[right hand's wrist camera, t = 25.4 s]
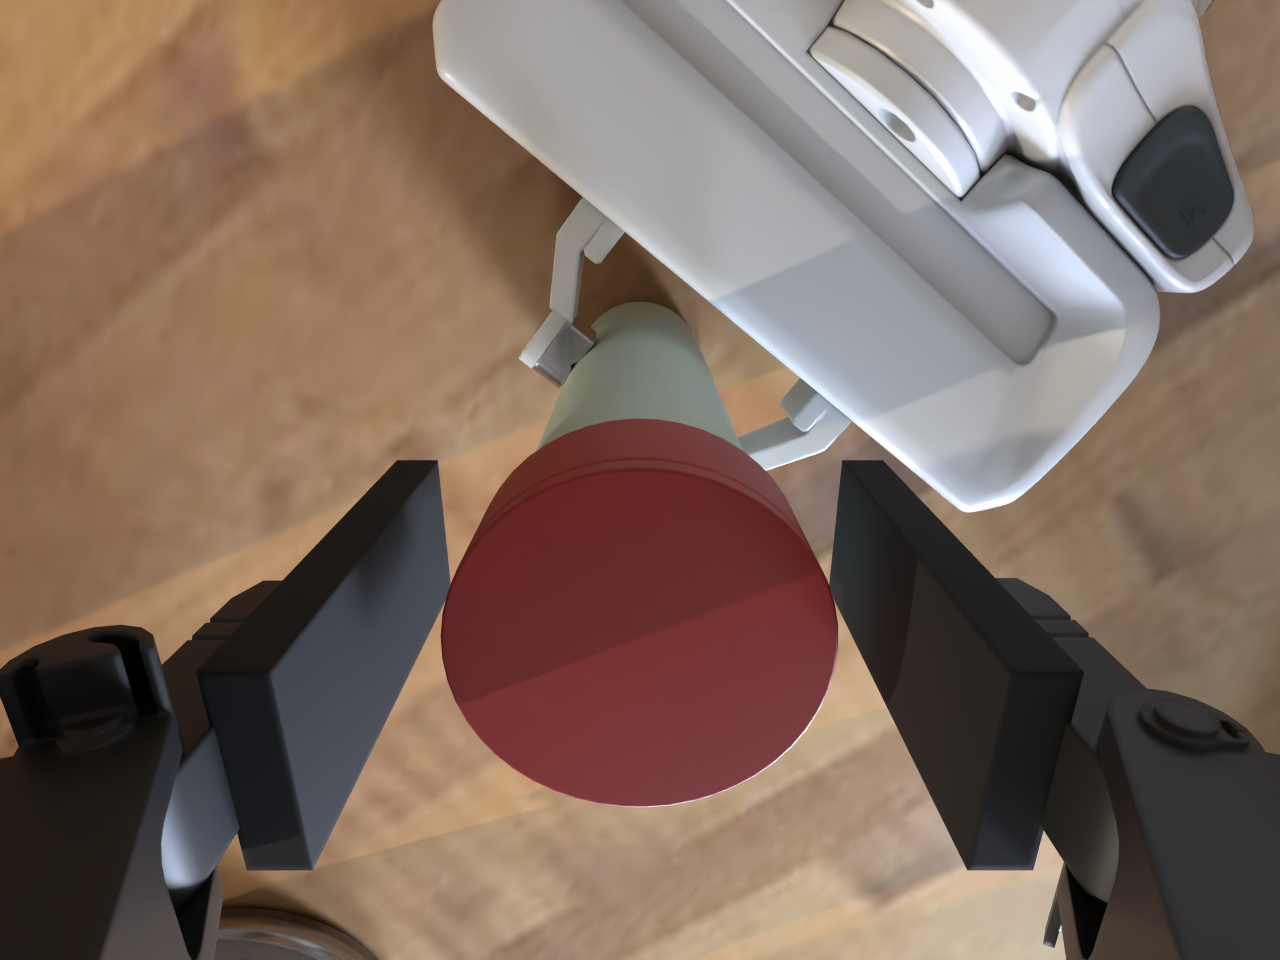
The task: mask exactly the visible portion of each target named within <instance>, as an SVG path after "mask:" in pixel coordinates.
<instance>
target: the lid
mask: <svg viewBox="0 0 1280 960" xmlns="http://www.w3.org/2000/svg"><path fill="white" fill-rule="evenodd" d="M441 646H442V659H443V663H444V667H445V672H446V676H447V680H448V683H449V686H450V688H451V691H452V693H453V696H454V698H455V701H456V703H457V705H458V706H459V708H460V710H461V712H462V714H463V715H464V717H465V719H466V721H467V722H468V723H469V725H470V726H471V727H472V729H473V730H474V731H475V733H476V734H477V735H478V737H479V738H480V739H481V740H482V741H483V742H484V743H485V744H486V745H487V746H488V747H489V748H490V749H491V750H492V751H493V752H494V753H495V754H496V755H497V756H498V757H499V758H501V759H502V760H503V761H505V762H506V763H507V764H508V765H510V766H511V767H512V768H513V769H515V770H517V771H518V772H520V773H521V774H523V775H525V776H526V777H528V778H529V779H531V780H533V781H535V782H537V783H539V784H541V785H543V786H545V787H547V788H549V789H552V790H554V791H556V792H559V793H562V794H565V795H568V796H571V797H574V798H577V799H581V800H585V801H590V802H594V803H598V804H606V805H613V806H621V807H654V806H668V805H674V804H680V803H685V802H691V801H695V800H698V799H702V798H705V797H708V796H712V795H715V794H718V793H720V792H722V791H725V790H727V789H730V788H732V787H735V786H737V785H739V784H740V783H742V782H744V781H746V780H748V779H750V778H752V777H753V776H755V775H757V774H758V773H760V772H761V771H763V770H764V769H765V768H767V767H768V766H770V765H771V764H773V763H774V762H775V761H776V760H777V759H779V758H780V757H781V756H782V755H783V754H784V753H785V752H786V751H787V750H789V749H790V748H791V747H792V746H793V745H794V743H795V742H796V741H797V740H798V739H799V738H800V737H801V735H802V734H803V733H804V732H805V731H806V729H807V728H808V726H809V725H810V723H811V722H812V720H813V719H814V717H815V716H816V714H817V713H818V711H819V709H820V707H821V705H822V703H823V701H824V699H825V696H826V694H827V692H828V689H829V686H830V683H831V680H832V676H833V673H834V670H835V664H836V657H837V651H838V622H837V616H836V609H835V603H834V600H833V597H832V594H831V590H830V587H829V584H828V581H827V579H826V577H825V575H824V573H823V571H822V569H821V567H820V565H819V563H818V561H817V559H816V557H815V555H814V553H813V551H812V549H811V547H810V545H809V543H808V541H807V539H806V537H805V535H804V533H803V531H802V529H801V527H800V525H799V523H798V521H797V519H796V517H795V515H794V513H793V511H792V509H791V507H790V505H789V503H788V501H787V499H786V497H785V495H784V494H783V492H782V491H781V490H780V488H779V487H778V485H777V484H776V482H775V481H774V480H773V478H772V477H771V476H770V475H769V474H768V473H767V472H766V471H765V470H764V469H763V468H762V467H761V466H760V464H758V463H757V462H756V461H755V460H754V459H752V458H751V457H750V456H749V455H747V454H746V453H745V452H744V451H742V450H741V449H739V448H738V447H736V446H734V445H733V444H731V443H730V442H728V441H726V440H725V439H723V438H721V437H718V436H716V435H714V434H712V433H709V432H707V431H705V430H703V429H699V428H696V427H692V426H689V425H686V424H682V423H678V422H672V421H665V420H659V419H635V418H633V419H623V420H612V421H607V422H602V423H598V424H594V425H589V426H586V427H583V428H581V429H578V430H575V431H572V432H570V433H567V434H565V435H563V436H561V437H559V438H557V439H555V440H553V441H551V442H549V443H548V444H546V445H544V446H543V447H542V448H540V449H539V450H537V451H536V452H535V453H533V454H532V455H530V456H529V457H528V458H527V459H526V460H525V461H523V462H522V463H521V464H520V465H519V466H518V467H517V468H516V469H515V470H514V471H513V472H512V473H511V474H510V476H509V477H508V478H507V479H506V480H505V482H504V483H503V484H502V485H501V487H500V488H499V490H498V491H497V493H496V495H495V496H494V498H493V500H492V501H491V503H490V505H489V507H488V509H487V511H486V513H485V515H484V517H483V519H482V521H481V523H480V525H479V527H478V529H477V531H476V533H475V535H474V536H473V538H472V540H471V542H470V544H469V546H468V548H467V550H466V552H465V554H464V556H463V559H462V560H461V562H460V564H459V566H458V568H457V570H456V573H455V575H454V578H453V580H452V583H451V585H450V588H449V590H448V593H447V597H446V602H445V606H444V610H443V615H442V627H441Z"/></svg>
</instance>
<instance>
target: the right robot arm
mask: <svg viewBox="0 0 1280 960" xmlns="http://www.w3.org/2000/svg"><path fill="white" fill-rule="evenodd" d="M450 585H451V583H450V573H449V564H448V554H447V545H446V535H445V526H444V516H443V507H442V497H441V488H440V478H439V468H438V460H397V461H396V462H395V463H394V464H393V465H392V466H391V467H390V468H389V469H388V470H387V472H386V473H385V474H384V475H383V476H382V477H381V478H380V479H379V480H378V481H377V482H376V483H375V484H374V485H373V486H372V487H371V488H370V489H369V490H368V491H367V493H366V494H365V495H364V496H363V497H362V498H361V499H360V500H359V501H358V502H357V503H356V504H355V505H354V506H353V507H352V508H351V509H350V510H349V511H348V512H347V513H346V515H345V516H344V517H343V518H342V519H341V520H340V521H339V522H338V523H337V524H336V525H335V526H334V527H333V528H332V529H331V530H330V531H329V532H328V533H327V534H326V536H325V537H324V538H323V539H322V540H321V541H320V542H319V543H318V544H317V545H316V546H315V547H314V548H313V549H312V550H311V551H310V552H309V553H308V554H307V555H306V556H305V558H304V559H303V560H302V561H301V562H300V563H299V564H298V565H297V566H296V567H295V568H294V569H293V570H292V571H291V572H290V573H289V574H288V575H287V576H286V577H285V579H284V580H283V581H262V582H260V583H258V584H257V585H255V586H253V587H251V588H249V589H247V590H246V591H244V592H242V593H240V594H238V595H236V596H235V597H233V598H231V599H230V600H229V601H228V602H227V603H226V604H225V605H224V606H223V607H222V608H221V609H220V610H219V611H218V612H217V613H216V614H215V615H214V616H212V617H211V618H210V623H205V624H204V625H203V626H202V627H201V628H200V629H199V630H198V631H197V632H196V633H195V634H194V635H193V636H192V640H187V641H186V642H185V643H184V644H183V645H182V646H181V647H180V648H179V649H178V650H177V651H176V652H175V653H174V654H173V655H172V656H171V657H170V658H169V659H168V660H167V661H166V662H165V663H164V664H163V665H161V662H160V658H159V655H158V651H157V647H156V644H155V640H154V637H153V635H152V634H151V633H149V632H148V631H146V630H145V629H143V628H142V627H134V626H126V625H114V626H103V627H94V628H90V629H85V630H81V631H77V632H73V633H69V634H65V635H62V636H60V637H57V638H55V639H52V640H49V641H47V642H44V643H42V644H39V645H37V646H34V647H32V648H31V649H29V650H27V651H25V652H24V653H22V654H20V655H19V656H17V657H15V658H13V659H12V660H10V661H9V662H7V663H6V664H5V665H4V666H3V667H2V668H1V669H0V697H1V700H2V703H3V705H4V708H5V711H6V713H7V716H8V719H9V721H10V724H11V727H12V729H13V732H14V734H15V737H16V740H17V742H18V745H19V747H18V749H17V751H16V752H15V754H14V756H11V757H6V758H1V759H0V960H379V959H378V958H377V957H376V956H375V955H374V954H372V953H371V952H370V951H369V950H368V949H366V948H365V947H364V946H362V945H361V944H360V943H358V942H357V941H355V940H354V939H352V938H351V937H349V936H347V935H345V934H344V933H342V932H340V931H338V930H336V929H334V928H332V927H329V926H327V925H325V924H322V923H320V922H317V921H315V920H312V919H309V918H305V917H302V916H298V915H294V914H290V913H285V912H280V911H274V910H266V909H253V908H237V909H223V910H221V908H222V901H223V891H222V883H221V878H220V875H219V871H218V867H217V863H218V862H219V860H220V858H221V857H222V855H223V854H224V852H225V851H226V849H227V848H228V846H229V844H230V843H231V841H232V840H233V838H234V837H235V835H236V834H238V837H239V841H240V845H241V849H242V853H243V857H244V861H245V865H246V868H247V870H313V868H314V866H315V864H316V862H317V860H318V858H319V856H320V854H321V852H322V850H323V848H324V846H325V844H326V842H327V840H328V838H329V836H330V834H331V832H332V830H333V828H334V826H335V824H336V822H337V820H338V818H339V816H340V813H341V811H342V809H343V807H344V805H345V803H346V801H347V799H348V797H349V795H350V793H351V791H352V789H353V787H354V785H355V783H356V781H357V779H358V777H359V775H360V773H361V771H362V769H363V767H364V765H365V763H366V761H367V759H368V757H369V755H370V753H371V751H372V749H373V747H374V744H375V742H376V740H377V738H378V736H379V734H380V732H381V730H382V728H383V726H384V724H385V722H386V720H387V718H388V716H389V714H390V712H391V710H392V708H393V706H394V704H395V702H396V700H397V698H398V696H399V694H400V692H401V690H402V688H403V686H404V684H405V682H406V680H407V678H408V675H409V673H410V671H411V669H412V667H413V665H414V663H415V661H416V659H417V657H418V655H419V653H420V651H421V649H422V647H423V645H424V643H425V641H426V639H427V637H428V635H429V633H430V631H431V629H432V627H433V625H434V623H435V621H436V619H437V617H438V615H439V613H440V611H441V609H442V606H443V604H444V602H445V600H446V597H447V593H448V590H449V588H450ZM829 587H830V590H831V594H832V596H833V598H834V600H835V602H836V604H837V606H838V609H839V611H840V613H841V615H842V617H843V619H844V621H845V623H846V625H847V627H848V629H849V631H850V633H851V635H852V637H853V639H854V641H855V643H856V645H857V647H858V649H859V651H860V653H861V655H862V657H863V659H864V661H865V663H866V665H867V667H868V669H869V671H870V673H871V675H872V678H873V680H874V682H875V684H876V686H877V688H878V690H879V692H880V694H881V696H882V698H883V700H884V702H885V704H886V706H887V708H888V710H889V712H890V714H891V716H892V718H893V720H894V722H895V724H896V726H897V728H898V730H899V732H900V734H901V736H902V738H903V740H904V742H905V744H906V747H907V749H908V751H909V753H910V755H911V757H912V759H913V761H914V763H915V765H916V767H917V769H918V771H919V773H920V775H921V777H922V779H923V781H924V783H925V785H926V787H927V789H928V791H929V793H930V795H931V797H932V799H933V801H934V803H935V805H936V807H937V809H938V811H939V813H940V815H941V818H942V820H943V822H944V824H945V826H946V828H947V830H948V832H949V834H950V836H951V838H952V840H953V842H954V844H955V846H956V848H957V850H958V852H959V854H960V856H961V858H962V860H963V862H964V864H965V866H966V868H967V870H1033V868H1034V865H1035V861H1036V857H1037V853H1038V849H1039V845H1040V841H1041V838H1042V834H1043V830H1044V831H1045V833H1046V834H1047V836H1048V837H1049V839H1050V840H1051V842H1052V844H1053V845H1054V847H1055V848H1056V850H1057V851H1058V853H1059V854H1060V856H1061V857H1062V859H1063V861H1064V864H1063V867H1062V871H1061V875H1060V878H1059V882H1058V885H1057V889H1056V893H1055V896H1054V900H1053V903H1052V907H1051V911H1050V914H1049V918H1048V921H1047V925H1046V929H1045V936H1044V943H1043V944H1044V945H1047V946H1050V947H1053V948H1054V947H1055V944H1056V941H1057V937H1058V934H1059V931H1060V930H1061V929H1062V933H1063V940H1064V947H1065V954H1066V960H1280V755H1276V754H1271V753H1266V752H1265V751H1264V749H1263V747H1262V746H1261V744H1260V743H1259V742H1258V741H1257V740H1256V739H1255V737H1254V736H1253V735H1252V734H1251V733H1250V732H1249V731H1248V729H1247V728H1245V727H1244V726H1243V725H1241V724H1240V723H1238V722H1237V721H1235V720H1234V719H1232V718H1231V717H1229V716H1228V715H1226V714H1225V713H1224V712H1222V711H1219V710H1217V709H1215V708H1213V707H1211V706H1209V705H1206V704H1204V703H1202V702H1200V701H1198V700H1195V699H1192V698H1189V697H1185V696H1182V695H1178V694H1175V693H1171V692H1168V691H1162V690H1152V689H1146V688H1145V687H1144V686H1143V685H1142V684H1141V683H1140V682H1139V681H1138V680H1137V679H1136V678H1135V677H1134V676H1133V675H1132V674H1131V673H1130V672H1129V671H1128V670H1127V669H1125V668H1124V667H1123V666H1122V665H1121V664H1120V663H1119V662H1118V661H1117V660H1116V659H1115V658H1114V657H1113V656H1112V655H1111V654H1110V653H1109V652H1108V651H1107V650H1106V649H1105V648H1103V647H1102V646H1101V645H1100V644H1099V643H1098V642H1097V641H1096V640H1095V639H1094V638H1089V636H1088V632H1087V631H1086V630H1085V629H1084V628H1082V627H1081V626H1080V625H1079V624H1078V623H1077V622H1076V621H1075V620H1071V618H1070V615H1069V614H1068V613H1067V612H1066V611H1065V610H1064V609H1063V608H1061V607H1060V606H1059V605H1058V604H1057V603H1056V602H1055V601H1054V600H1053V599H1052V598H1051V597H1050V596H1049V595H1047V594H1045V593H1043V592H1041V591H1040V590H1038V589H1036V588H1034V587H1032V586H1030V585H1028V584H1027V583H1025V582H1023V581H1021V580H1019V579H1017V578H995V577H994V576H993V575H992V574H991V573H990V572H989V571H988V570H987V569H986V568H985V567H984V566H983V565H982V564H981V563H980V562H979V561H978V560H977V559H976V558H975V556H974V555H973V554H972V553H971V552H970V551H969V550H968V549H967V548H966V547H965V546H964V545H963V544H962V543H961V542H960V541H959V540H958V539H957V538H956V537H955V536H954V534H953V533H952V532H951V531H950V530H949V529H948V528H947V527H946V526H945V525H944V524H943V523H942V522H941V521H940V520H939V519H938V518H937V517H936V516H935V515H934V513H933V512H932V511H931V510H930V509H929V508H928V507H927V506H926V505H925V504H924V503H923V502H922V501H921V500H920V499H919V498H918V497H917V496H916V495H915V494H914V493H913V491H912V490H911V489H910V488H909V487H908V486H907V485H906V484H905V483H904V482H903V481H902V480H901V479H900V478H899V477H898V476H897V475H896V474H895V473H894V472H893V470H892V469H891V468H890V467H889V466H888V465H887V464H886V463H885V462H884V461H883V460H842V469H841V478H840V488H839V497H838V507H837V516H836V526H835V535H834V545H833V554H832V564H831V573H830V583H829Z"/></svg>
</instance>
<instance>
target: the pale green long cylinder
mask: <svg viewBox="0 0 1280 960" xmlns="http://www.w3.org/2000/svg"><path fill="white" fill-rule="evenodd" d="M590 327H591V328H592V329H593V330H594V331H595V332H597V336H596V338H595V342H594V344H593V345H592V347H591V348H590V349H589V351H588V352H587V353H586V355H585V356H584V357H583V358H582V359H581V360H580V361H579V362H577V363H574V365H573V368H572V371H571V373H570V374H569V376H568V378H567V379H566V381H565V384H564V386H563V388H562V391H561V393H560V395H559V398H558V400H557V402H556V405H555V407H554V410H553V412H552V414H551V417H550V419H549V421H548V424H547V426H546V428H545V431H544V433H543V436H542V438H541V440H540V443H539V445H538V447H537V450H539V449H540V448H542V447H543V446H544V445H546V444H548V443H549V442H551V441H553V440H555V439H557V438H559V437H561V436H563V435H565V434H567V433H570V432H572V431H575V430H578V429H581V428H583V427H586V426H589V425H594V424H598V423H602V422H607V421H612V420H623V419H633V418H635V419H659V420H665V421H672V422H678V423H682V424H686V425H689V426H692V427H696V428H699V429H703V430H705V431H707V432H709V433H712V434H714V435H716V436H718V437H721V438H723V439H725V440H726V441H728V442H730V443H731V444H733V445H734V446H736V447H738V448H739V449H741V450H742V451H743V449H742V446H741V444H740V442H739V439H738V437H737V434H736V432H735V430H734V427H733V425H732V423H731V420H730V418H729V416H728V413H727V411H726V408H725V406H724V404H723V401H722V399H721V397H720V394H719V392H718V389H717V387H716V385H715V382H714V380H713V378H712V375H711V373H710V370H709V368H708V366H707V363H706V361H705V359H704V356H703V354H702V351H701V349H700V347H699V344H698V342H697V340H696V337H695V335H694V333H693V332H692V330H691V328H690V327H689V326H688V324H687V323H686V322H685V321H684V320H683V319H682V318H681V317H680V316H679V315H677V314H676V313H675V312H673V311H672V310H670V309H668V308H666V307H664V306H661V305H658V304H655V303H650V302H630V303H625V304H621V305H619V306H616V307H614V308H612V309H610V310H608V311H607V312H605V313H604V314H602V315H601V316H600V317H599V318H598V319H596V321H595V322H594V323H593V324H592V325H591V326H590ZM537 450H536V451H537Z"/></svg>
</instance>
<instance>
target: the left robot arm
mask: <svg viewBox="0 0 1280 960" xmlns="http://www.w3.org/2000/svg"><path fill="white" fill-rule="evenodd" d="M1213 1H1214V0H441V2H440V3H439V5H438V7H437V9H436V11H435V14H434V18H433V25H432V27H433V41H434V52H435V60H436V68H437V72H438V74H439V76H440V77H441V79H442V80H443V81H444V82H446V83H447V84H448V85H449V86H450V87H452V88H453V89H454V90H455V91H456V92H457V93H459V94H460V95H461V96H462V97H463V98H465V99H466V100H467V101H468V102H469V103H471V104H472V105H473V106H474V107H476V108H477V109H478V110H479V111H480V112H482V113H483V114H484V115H485V116H486V117H488V118H489V119H490V120H491V121H492V122H494V123H495V124H496V125H497V126H498V127H500V128H501V129H502V130H503V131H504V132H506V133H507V134H508V135H509V136H510V137H512V138H513V139H514V140H515V141H516V142H518V143H519V144H520V145H521V146H522V147H524V148H525V149H526V150H527V151H528V152H530V153H531V154H532V155H533V156H534V157H536V158H537V159H538V160H539V161H540V162H542V163H543V164H544V165H545V166H546V167H548V168H549V169H550V170H551V171H552V172H554V173H555V174H556V175H557V176H558V177H560V178H561V179H562V180H563V181H565V182H566V183H567V184H568V185H569V186H571V187H572V188H573V189H574V190H575V191H577V192H578V193H579V194H580V195H581V196H583V197H582V199H581V200H580V201H579V203H578V204H577V206H576V207H575V208H574V210H573V211H572V213H571V214H570V215H569V217H568V218H567V220H566V221H565V223H564V224H563V225H562V227H561V228H560V230H559V231H558V232H557V235H556V245H555V255H554V265H553V275H552V285H551V295H550V305H549V307H550V308H551V309H552V310H553V311H552V312H551V313H550V315H549V316H548V317H547V319H546V320H545V321H544V323H543V324H542V326H541V327H540V328H539V330H538V331H537V332H536V334H535V335H534V336H533V338H532V339H531V341H530V342H529V343H528V345H527V346H526V347H525V349H524V350H523V351H522V353H521V354H520V356H519V359H520V360H521V361H523V362H524V363H525V364H526V365H527V366H529V367H530V368H532V369H533V370H535V371H536V372H537V373H539V374H540V375H542V376H543V377H544V378H546V379H547V380H548V381H550V382H551V383H553V384H554V385H555V386H557V387H558V388H560V387H561V385H562V384H563V383H564V382H565V381H566V379H567V378H568V376H569V374H570V373H571V371H572V368H573V365H574V363H577V362H579V361H580V360H581V359H582V358H583V357H584V356H585V355H586V353H587V352H588V351H589V349H590V348H591V347H592V345H593V344H594V342H595V338H596V336H597V332H595V331H594V330H593V329H592V328H591V327H589V326H588V325H587V324H586V323H584V322H583V321H582V320H581V319H580V318H578V317H577V312H578V304H579V296H580V288H581V280H582V273H583V265H584V257H585V256H586V257H587V258H588V259H590V260H591V261H592V262H594V263H595V264H598V263H601V262H602V261H603V259H604V258H605V257H606V256H607V254H608V253H609V252H610V250H611V249H612V248H613V246H614V245H615V244H616V242H617V241H618V240H619V239H620V237H621V236H622V235H623V233H624V232H626V233H627V234H628V235H629V236H631V237H632V238H633V239H634V240H635V241H637V242H638V243H639V244H640V245H641V246H643V247H644V248H645V249H646V250H648V251H649V252H650V253H651V254H652V255H654V256H655V257H656V258H657V259H658V260H660V261H661V262H662V263H663V264H664V265H666V266H667V267H668V268H669V269H670V270H672V271H673V272H674V273H675V274H676V275H678V276H679V277H680V278H681V279H682V280H684V281H685V282H686V283H687V284H688V285H690V286H691V287H692V288H693V289H694V290H696V291H697V292H698V293H699V294H700V295H702V296H703V297H704V298H705V299H706V300H708V301H709V302H710V303H711V304H712V305H714V306H715V307H716V308H717V309H718V310H720V311H721V312H722V313H723V314H724V315H726V316H727V317H728V318H729V319H731V320H732V321H733V322H734V323H735V324H737V325H738V326H739V327H740V328H741V329H743V330H744V331H745V332H746V333H747V334H749V335H750V336H751V337H752V338H753V339H755V340H756V341H757V342H758V343H759V344H761V345H762V346H763V347H764V348H765V349H767V350H768V351H769V352H770V353H771V354H773V355H774V356H775V357H776V358H777V359H779V360H780V361H781V362H782V363H783V364H785V365H786V366H787V367H788V368H789V369H791V370H792V371H793V372H794V373H795V374H797V375H798V376H799V377H800V379H799V380H798V381H797V383H796V384H795V385H794V386H793V387H792V388H791V390H790V391H789V392H788V393H787V394H786V395H785V397H784V398H783V399H782V400H781V401H780V406H781V407H782V409H783V410H784V411H785V413H786V414H787V416H788V417H787V418H785V419H782V420H780V421H777V422H775V423H772V424H770V425H767V426H765V427H762V428H760V429H757V430H755V431H752V432H750V433H747V434H745V435H742V436H740V437H738V439H739V442H740V444H741V446H742V449H743V451H744V452H745V453H746V454H747V455H749V456H750V457H751V458H752V459H754V460H755V461H756V462H757V463H758V464H760V466H761V467H762V468H763V469H764V470H765V471H766V470H769V469H772V468H775V467H778V466H781V465H784V464H787V463H790V462H793V461H796V460H799V459H802V458H805V457H808V456H811V455H814V454H817V453H820V452H823V451H825V450H826V449H827V448H828V447H829V446H830V444H831V443H832V442H833V441H834V440H835V439H836V438H837V437H838V436H839V435H840V434H841V433H842V432H843V431H844V430H845V428H846V427H847V426H848V425H849V424H850V423H851V422H852V421H853V422H854V423H856V424H857V425H858V426H859V427H860V428H862V429H863V430H864V431H865V432H866V433H868V434H869V435H870V436H871V437H872V438H874V439H875V440H876V441H877V442H878V443H880V444H881V445H882V446H883V447H884V448H886V449H887V450H888V451H889V452H890V453H892V454H893V455H894V456H895V457H896V458H898V459H899V460H900V461H901V462H903V463H904V464H905V465H906V466H907V467H909V468H910V469H911V470H912V471H913V472H915V473H916V474H917V475H918V476H919V477H921V478H922V479H923V480H924V481H925V482H927V483H928V484H929V485H930V486H931V487H933V488H934V489H935V490H936V491H937V492H939V493H940V494H941V495H942V496H943V497H945V498H946V499H947V500H948V501H949V502H951V503H952V504H953V505H954V506H956V507H957V508H958V509H959V510H961V511H963V512H975V511H981V510H985V509H990V508H994V507H998V506H1002V505H1006V504H1008V503H1011V502H1013V501H1014V500H1016V499H1017V498H1019V497H1020V496H1021V495H1023V494H1024V493H1025V492H1026V491H1027V490H1028V489H1030V488H1031V487H1032V486H1033V485H1034V484H1035V483H1037V482H1038V481H1039V480H1040V479H1041V478H1042V477H1043V476H1044V475H1045V474H1046V473H1047V472H1048V471H1049V470H1050V469H1051V468H1052V467H1053V466H1054V465H1055V464H1056V463H1058V462H1059V461H1060V460H1061V459H1062V457H1063V456H1064V455H1065V454H1066V453H1067V452H1068V451H1069V450H1070V449H1071V448H1072V447H1073V446H1074V445H1075V444H1076V443H1077V442H1078V441H1079V440H1080V439H1081V438H1082V437H1083V436H1084V435H1085V434H1086V433H1087V432H1088V431H1089V430H1090V428H1091V427H1092V426H1093V425H1094V424H1095V423H1096V422H1097V421H1098V420H1099V419H1100V418H1101V417H1102V416H1103V414H1104V413H1105V412H1106V411H1107V410H1108V409H1109V408H1110V406H1111V405H1112V404H1113V403H1114V402H1115V401H1116V400H1117V398H1118V397H1119V396H1120V395H1121V394H1122V393H1123V392H1124V390H1125V389H1126V388H1127V387H1128V385H1129V384H1130V383H1131V382H1132V381H1133V379H1134V378H1135V377H1136V375H1137V374H1138V373H1139V371H1140V370H1141V368H1142V366H1143V365H1144V363H1145V362H1146V360H1147V358H1148V356H1149V355H1150V353H1151V351H1152V348H1153V346H1154V344H1155V341H1156V338H1157V335H1158V330H1159V325H1160V306H1159V301H1158V297H1157V295H1156V292H1155V291H1158V292H1178V293H1194V292H1198V291H1201V290H1203V289H1205V288H1207V287H1209V286H1210V285H1212V284H1213V283H1215V282H1216V281H1217V280H1218V279H1220V278H1221V277H1222V276H1223V275H1225V274H1226V273H1227V272H1228V271H1229V270H1230V269H1231V268H1232V267H1233V266H1234V265H1235V264H1236V263H1237V262H1238V261H1239V260H1240V259H1241V258H1242V256H1243V255H1244V254H1245V253H1246V251H1247V250H1248V248H1249V246H1250V244H1251V242H1252V239H1253V235H1254V219H1253V214H1252V211H1251V207H1250V204H1249V201H1248V198H1247V195H1246V192H1245V189H1244V187H1243V184H1242V181H1241V178H1240V175H1239V172H1238V170H1237V167H1236V164H1235V161H1234V158H1233V155H1232V152H1231V149H1230V146H1229V143H1228V140H1227V136H1226V133H1225V130H1224V127H1223V124H1222V120H1221V117H1220V113H1219V110H1218V106H1217V103H1216V99H1215V96H1214V92H1213V87H1212V83H1211V79H1210V75H1209V71H1208V66H1207V61H1206V56H1205V50H1204V45H1203V40H1202V34H1201V28H1200V24H1199V19H1200V17H1201V16H1202V15H1203V14H1204V13H1205V12H1206V11H1207V10H1208V8H1209V7H1210V5H1211V4H1212V2H1213Z"/></svg>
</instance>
